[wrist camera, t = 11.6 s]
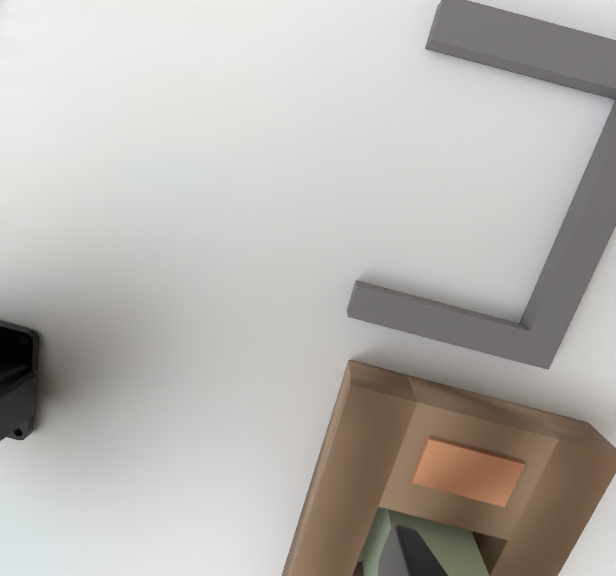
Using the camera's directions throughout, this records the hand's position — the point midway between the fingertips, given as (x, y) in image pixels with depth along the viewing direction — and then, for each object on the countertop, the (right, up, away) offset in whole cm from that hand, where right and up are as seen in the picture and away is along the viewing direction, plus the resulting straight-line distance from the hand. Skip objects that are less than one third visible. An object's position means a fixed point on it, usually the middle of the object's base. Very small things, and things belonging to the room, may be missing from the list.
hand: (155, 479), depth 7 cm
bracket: (+10, +8, +10) cm, 16 cm away
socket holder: (+9, -10, +15) cm, 20 cm away
